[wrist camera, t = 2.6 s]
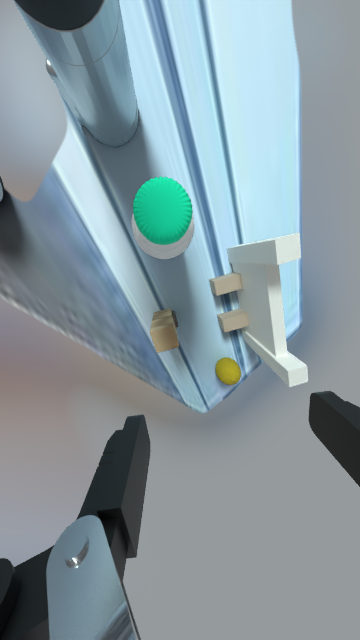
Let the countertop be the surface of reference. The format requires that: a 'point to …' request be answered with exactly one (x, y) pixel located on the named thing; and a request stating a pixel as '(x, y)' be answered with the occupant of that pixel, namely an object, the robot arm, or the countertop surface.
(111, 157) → the countertop surface
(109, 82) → the robot arm
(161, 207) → the water bottle
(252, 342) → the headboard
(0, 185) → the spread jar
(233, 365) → the lemon
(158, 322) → the tan wooden block
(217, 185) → the countertop surface
